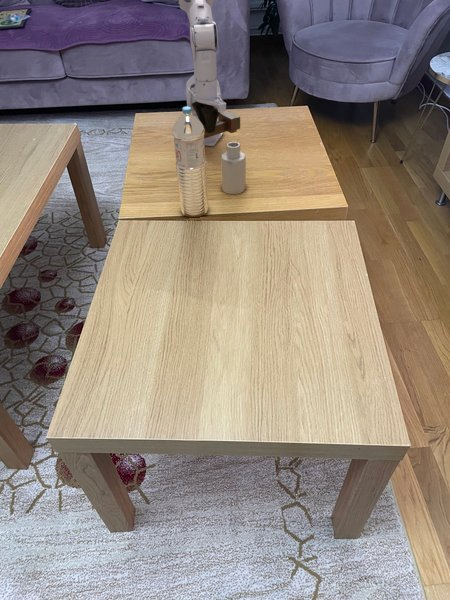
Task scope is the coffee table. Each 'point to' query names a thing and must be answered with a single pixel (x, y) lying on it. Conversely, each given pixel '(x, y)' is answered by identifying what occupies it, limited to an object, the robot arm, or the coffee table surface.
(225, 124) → the brush
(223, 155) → the silver bottle
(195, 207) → the water bottle
